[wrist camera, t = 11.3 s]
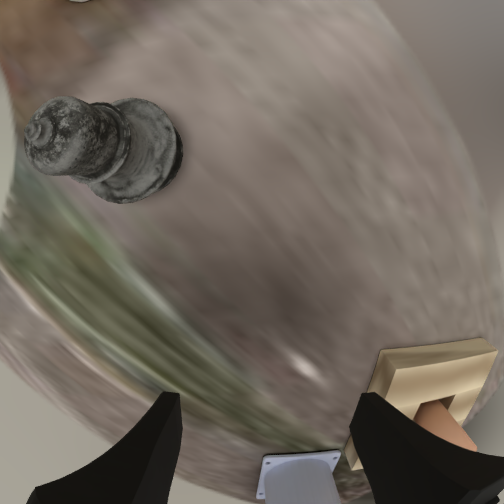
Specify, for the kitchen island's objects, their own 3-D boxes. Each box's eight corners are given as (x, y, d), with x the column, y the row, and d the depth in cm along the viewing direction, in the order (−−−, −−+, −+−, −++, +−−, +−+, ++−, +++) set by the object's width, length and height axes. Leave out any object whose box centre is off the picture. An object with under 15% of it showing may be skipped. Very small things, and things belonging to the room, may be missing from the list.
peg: (423, 406, 24) (467, 464, 15) (401, 411, 24) (442, 475, 15) (433, 383, 23) (482, 442, 14) (410, 388, 23) (458, 453, 14)
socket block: (438, 429, 26) (449, 444, 23) (343, 450, 25) (351, 470, 22) (481, 337, 23) (498, 350, 20) (380, 349, 22) (396, 369, 19)
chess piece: (183, 202, 19) (101, 237, 7) (100, 197, 18) (-32, 225, 6) (192, 111, 17) (130, 22, 6) (109, 112, 17) (-12, 60, 5)
